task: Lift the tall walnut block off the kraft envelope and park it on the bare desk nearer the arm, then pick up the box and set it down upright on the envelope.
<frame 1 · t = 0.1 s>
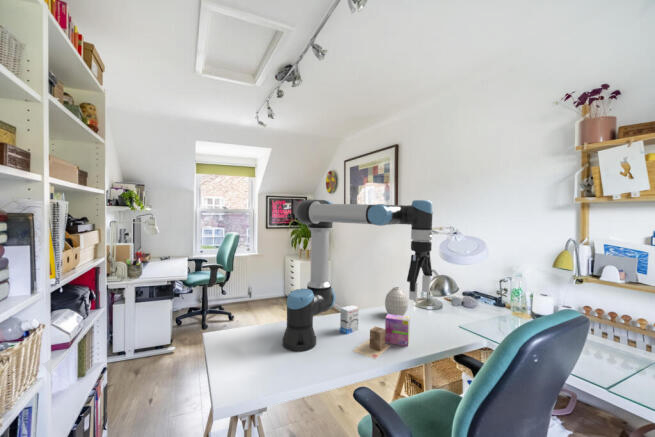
hand: (419, 295, 116), 28 cm above the table, fingers open, 13 cm apart
block: (377, 347, 132), resting on letter
letter: (372, 348, 131), on the table
ink box: (349, 331, 150), on the table
vase: (395, 316, 171), on the table
box: (397, 342, 138), on the table
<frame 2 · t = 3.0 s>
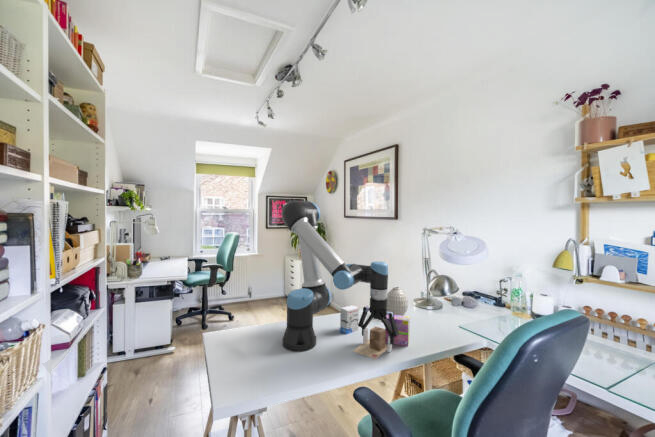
hand: (377, 347, 132), 0 cm above the table, fingers open, 11 cm apart
nothing on the table moved.
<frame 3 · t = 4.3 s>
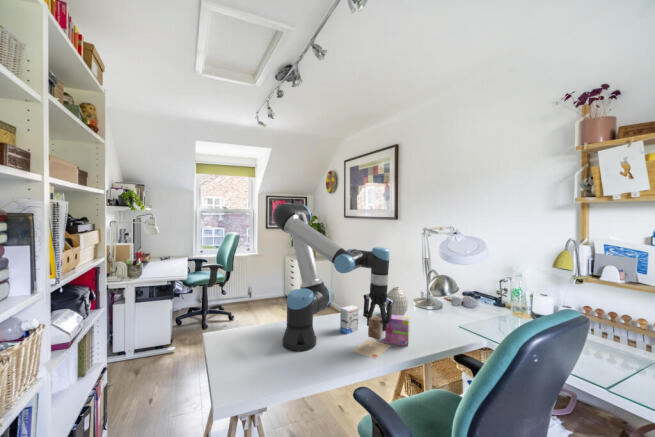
hand: (376, 335, 132), 5 cm above the table, fingers closed on block, 5 cm apart
block: (376, 336, 132), point 5 cm above the table, touching gripper
everything else where it was.
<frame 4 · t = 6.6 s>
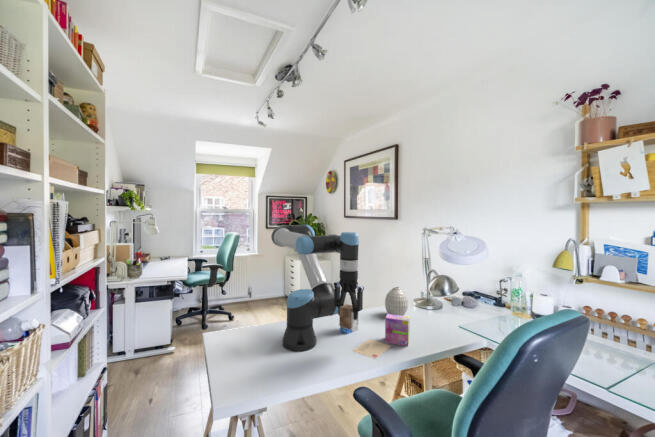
hand: (347, 324, 125), 12 cm above the table, fingers closed on block, 5 cm apart
block: (347, 325, 125), point 12 cm above the table, touching gripper
everything else where it was.
when the fingers open (0 cm above the table, at t = 8.9 s): block stays where it is, on the table.
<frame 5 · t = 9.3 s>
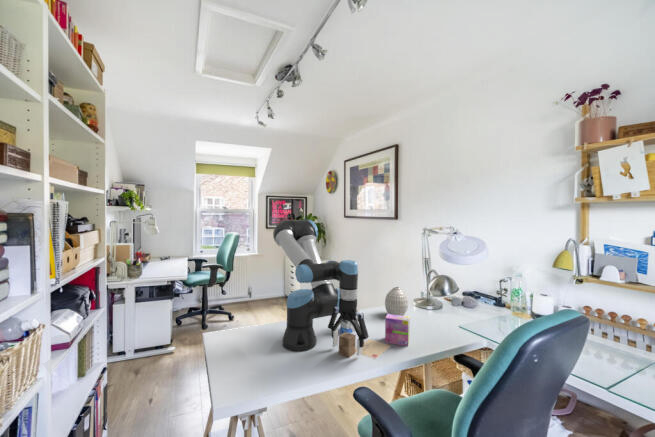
hand: (347, 349, 126), 2 cm above the table, fingers open, 11 cm apart
block: (346, 354, 126), on the table
everything else where it was.
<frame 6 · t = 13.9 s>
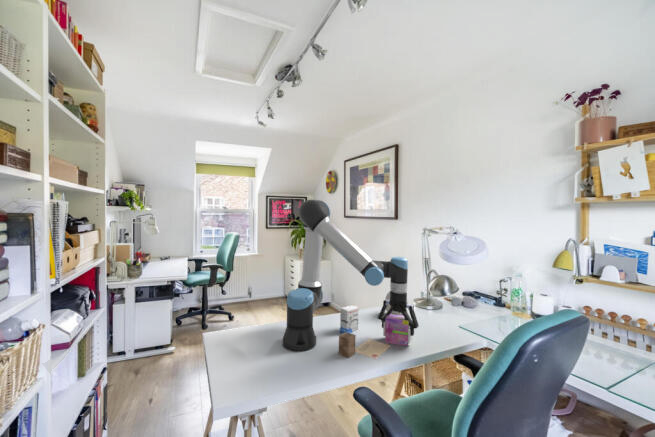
hand: (397, 338, 138), 2 cm above the table, fingers closed on box, 11 cm apart
box: (397, 342, 138), on the table, touching gripper
everything else where it was.
when the fingers open (3 cm above the table, at t = 19.8 s): box drops 1 cm, resting on letter.
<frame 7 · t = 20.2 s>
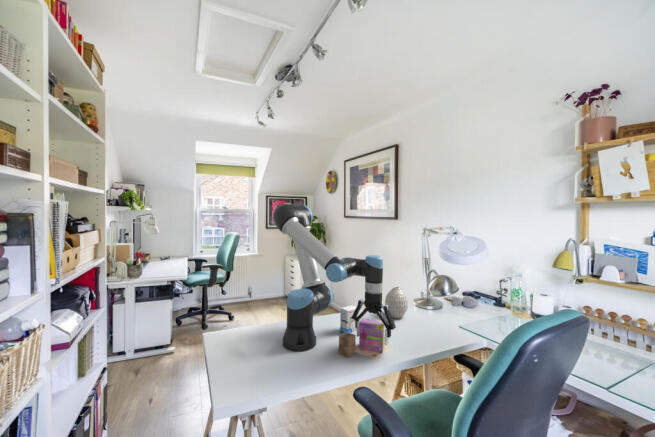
hand: (372, 339, 131), 4 cm above the table, fingers open, 13 cm apart
box: (372, 348, 131), resting on letter
everything else where it was.
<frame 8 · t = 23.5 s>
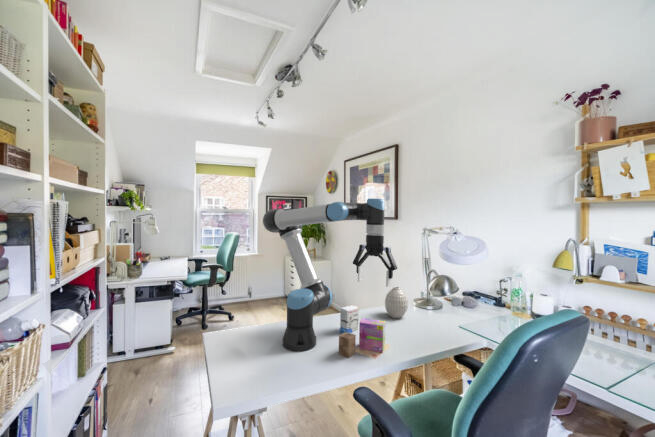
hand: (373, 283, 130), 29 cm above the table, fingers open, 13 cm apart
nothing on the table moved.
at the end: box inside the target area on the letter (0.1 cm from its centre), point 0.0 cm above the letter's base; box tilted 0°; block inside the target area (1.0 cm from its centre), on the table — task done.
